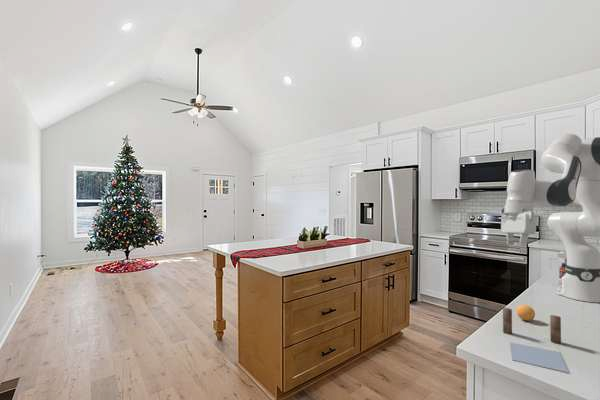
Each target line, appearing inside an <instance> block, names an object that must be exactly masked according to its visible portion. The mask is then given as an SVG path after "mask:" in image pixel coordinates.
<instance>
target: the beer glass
mask: <svg viewBox="0 0 600 400" xmlns="http://www.w3.org/2000/svg"><path fill="white" fill-rule="evenodd" d="M562 263H567V258H566V251H564V250H563V251H558V252H557V265H558V268H560V267H561V266H562Z"/></svg>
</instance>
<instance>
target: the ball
mask: <svg viewBox="0 0 600 400" xmlns="http://www.w3.org/2000/svg"><path fill="white" fill-rule="evenodd" d="M516 315H517V317H519V318H520V319H521V320H523V321H527V322H529V321H532V320H534V319H535V317H536V312H535V310H534V309H533V308H532V307H531V306H530V305H527V304H521V305H519V306H517V308H516Z"/></svg>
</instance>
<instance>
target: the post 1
mask: <svg viewBox="0 0 600 400" xmlns="http://www.w3.org/2000/svg"><path fill="white" fill-rule="evenodd" d="M502 333H503V334H507V335H513V309H511V308H509V307H503V308H502Z"/></svg>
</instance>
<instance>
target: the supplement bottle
mask: <svg viewBox="0 0 600 400" xmlns="http://www.w3.org/2000/svg"><path fill="white" fill-rule="evenodd" d="M566 264H567V263H562V266H561V267H560V268H559V267H558V268H559V269H558V275H559V277H558V280H559V279H560V278H561V279H562V277H563V276H564V275H565V273H566V272H565V267H566ZM560 285H562V284H560Z"/></svg>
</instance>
